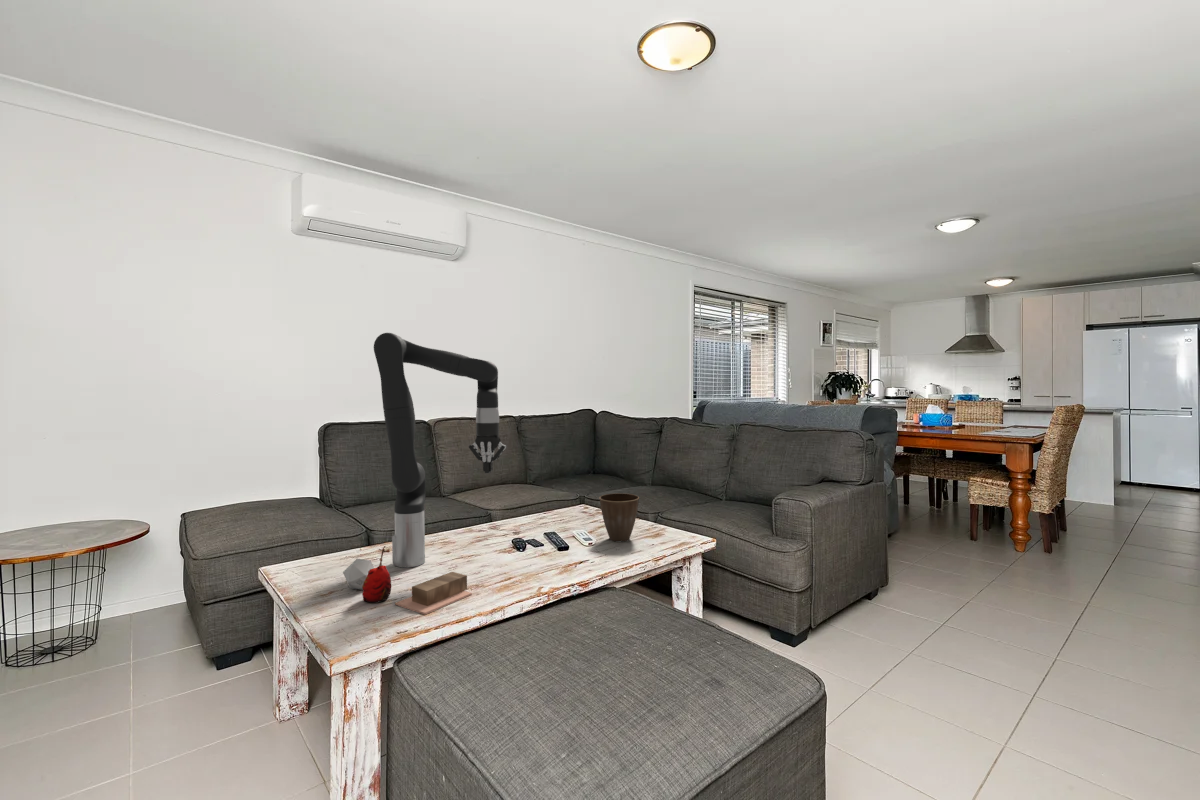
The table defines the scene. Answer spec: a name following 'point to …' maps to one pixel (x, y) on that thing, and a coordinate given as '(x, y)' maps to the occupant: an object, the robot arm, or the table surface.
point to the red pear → (377, 583)
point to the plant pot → (619, 514)
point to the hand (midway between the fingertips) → (488, 472)
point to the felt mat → (435, 606)
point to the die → (357, 573)
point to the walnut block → (439, 588)
